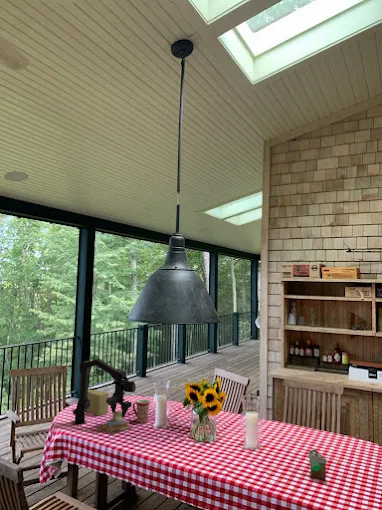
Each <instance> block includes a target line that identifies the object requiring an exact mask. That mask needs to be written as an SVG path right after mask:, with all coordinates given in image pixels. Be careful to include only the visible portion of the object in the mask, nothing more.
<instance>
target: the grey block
mask: <svg viewBox="0 0 382 510" xmlns="http://www.w3.org/2000/svg"><path fill="white" fill-rule="evenodd" d="M124 422H125V420H124V418H123V419H122V420H119V421H115V420H113V418H112V419H108V420H106V423H107V426H110V427H111V426H115V425H118V424H121V423H124Z"/></svg>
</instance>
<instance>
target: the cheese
mask: <svg viewBox="0 0 382 510" xmlns="http://www.w3.org/2000/svg"><path fill="white" fill-rule="evenodd" d="M109 393H110V392H106V391H102V390H94V389H90V388H88V395H87V397H88V400H89V399H90V406H89V408H88V409H87V411H86V412H85V413H90V414H92V415H95V416H97V417H101V416H104V415H107V414H108V413H109V405H108V404H107V403H106V400H107V398H110V397H109V395H110V394H109Z"/></svg>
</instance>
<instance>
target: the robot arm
mask: <svg viewBox="0 0 382 510" xmlns="http://www.w3.org/2000/svg"><path fill="white" fill-rule="evenodd" d="M95 366H96V367H97V368H99V369H100V370H102V371H104V372H105V373H107V374H109V375H110V377H111V378H112V379H113V381H112V382H111V384H112V385H114V392H112V396H110V397H109V398H107V400H106V403H107V404H108V406H109V407H110V409H111V414H113V412H116V411H117V410H116V409H117V404H118V405H120V409H121V411H122V418H123V419H124V418H125V416H126V414H127V412H128V410H129V409H130V408H132V407H133V403H132V402H131V401H128V400H125V398H124V395H126V393H135V392H136V388H137V385H136V383H135V381H133V380H132V381H130V379H128V376H127V375H126V371H124V370H123V369H119V368H116V367H113V366H111V365H110V364H108V363H106V362H105V361H103V360H101V359H100V358H96V359H93V360H85V361H82V362H80V364H79V368H78V369H79V373H80V375H81V376H80V377H81V378H80V392H79V398H78V401H77V402H76V403H77V404H76V408H74V410H73V411H72V414H73V415H74V421H73V422H72V424H75V425H78V426H79V425H83V424H86V423H87V421H86V419H85V418H86V415H85V413H87V412H86V411H87V409H88V408H89V406H90V399H89V400H88V397H87V395H88V389H89V377H90V374H91V371H92V368H93V367H95Z"/></svg>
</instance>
